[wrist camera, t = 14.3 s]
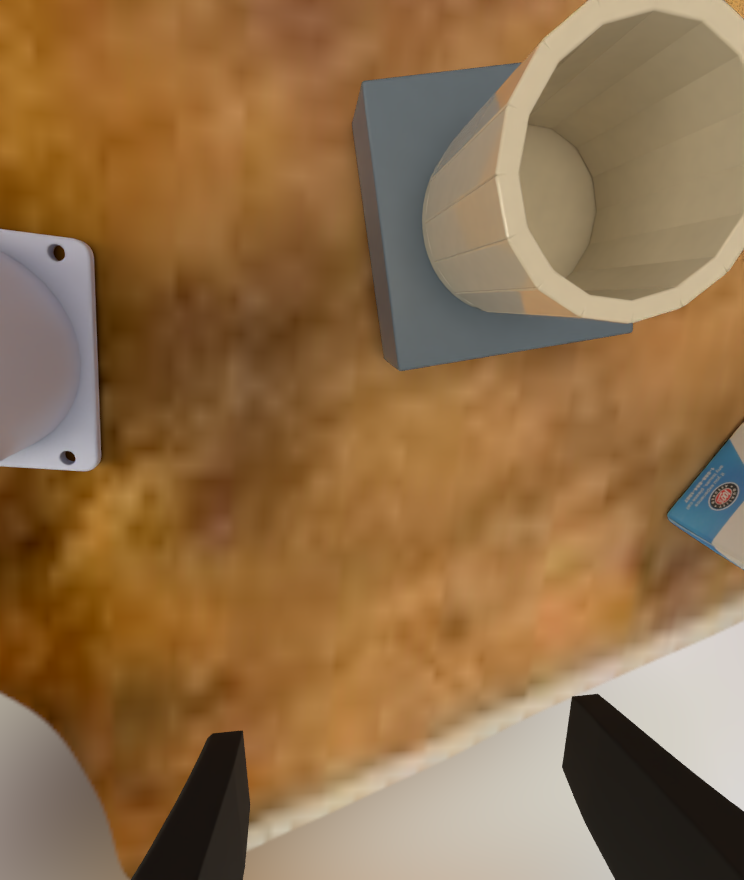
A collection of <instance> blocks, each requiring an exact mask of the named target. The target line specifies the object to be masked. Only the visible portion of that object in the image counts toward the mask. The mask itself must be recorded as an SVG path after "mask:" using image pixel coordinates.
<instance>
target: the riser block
mask: <svg viewBox="0 0 744 880" xmlns="http://www.w3.org/2000/svg"><path fill="white" fill-rule="evenodd" d="M520 64H521V63H513V64H505V65H496V66H488V67H479V68H470V69H462V70H453V71H445V72H436V73H428V74H419V75H410V76H402V77H393V78H385V79H376V80H367V81H363V82H362V84H361V89H360V93H359V97H358V101H357V105H356V109H355V114H354V118H353V122H352V128H353V135H354V143H355V150H356V157H357V165H358V172H359V179H360V187H361V194H362V201H363V208H364V216H365V223H366V230H367V238H368V245H369V252H370V260H371V267H372V274H373V282H374V289H375V296H376V303H377V311H378V318H379V325H380V333H381V340H382V347H383V355H384V359H385V360H386V361H387V362H389V363H390V364H391V365H392V366H394V367H395V368H396V369H398V370H399V371H405V370H411V369H417V368H423V367H429V366H435V365H441V364H447V363H453V362H459V361H465V360H471V359H477V358H483V357H489V356H495V355H501V354H507V353H513V352H519V351H525V350H531V349H537V348H543V347H549V346H555V345H561V344H567V343H573V342H579V341H585V340H591V339H597V338H603V337H609V336H615V335H621V334H627V333H631V332H632V331H633V323H628V324H624V323H610V322H596V321H582V320H567V319H553V318H539V317H525V316H513V315H505V314H494V313H489V312H484V311H481V310H479V309H476V308H473V307H471V306H469V305H468V304H466V303H464V302H463V301H461V300H460V299H458V298H457V297H456V296H454V295H453V294H452V293H451V292H450V291H449V290H448V289H447V288H446V287H445V285H444V284H443V283H442V282H441V280H440V279H439V277H438V276H437V274H436V272H435V271H434V269H433V267H432V264H431V262H430V260H429V258H428V254H427V251H426V248H425V243H424V237H423V229H422V213H423V203H424V198H425V193H426V189H427V186H428V183H429V180H430V178H431V175H432V173H433V171H434V169H435V167H436V165H437V163H438V162H439V160H440V158H441V157H442V155H443V154H444V153H445V151H446V150H447V148H448V146H449V145H450V143H451V142H452V141H453V139H454V138H455V137H456V136H457V135H458V134H459V133H460V131H461V130H462V129H463V128H464V127H465V126H466V125H467V124H468V122H469V121H470V120H471V119H472V118H473V117H474V116H475V115H476V113H477V112H478V111H479V110H480V109H481V108H482V107H483V106H484V105H485V103H486V102H487V101H488V100H489V99H490V98H491V97H492V96H493V94H494V93H495V92H496V91H497V90H498V89H499V88H500V87H501V85H502V84H503V83H504V82H505V81H506V80H507V79H508V78H509V76H510V75H511V74H512V73H513V72H514V71H515V70H516V69H517V67H518V66H519V65H520Z"/></svg>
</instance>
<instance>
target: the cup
mask: <svg viewBox="0 0 744 880" xmlns="http://www.w3.org/2000/svg"><path fill="white" fill-rule="evenodd" d="M422 229H423V237H424V243H425V248H426V251H427V254H428V258H429V260H430V262H431V264H432V267H433V269H434V271H435V272H436V274H437V276H438V277H439V279H440V280H441V282H442V283H443V284H444V285H445V287H446V288H447V289H448V290H449V291H450V292H451V293H452V294H453V295H454V296H456V297H457V298H458V299H460V300H461V301H463V302H464V303H466V304H468V305H469V306H471V307H473V308H476V309H479V310H481V311H484V312H489V313H494V314H505V315H513V316H525V317H539V318H553V319H567V320H582V321H596V322H610V323H624V324H628V323H635V322H639V321H642V320H645V319H648V318H652V317H655V316H658V315H661V314H665V313H668V312H671V311H674V310H678V309H680V308H681V307H684V306H685V305H686V304H688V303H689V302H690V301H692V300H693V299H694V298H695V297H697V296H698V295H699V294H701V293H702V292H703V291H704V290H706V289H707V288H708V287H710V286H711V285H712V284H713V283H715V282H716V281H717V280H719V279H720V278H721V277H722V276H724V275H725V274H726V273H727V272H728V271H729V270H730V269H731V267H732V266H733V264H734V263H735V261H736V260H737V258H738V257H739V255H740V254H741V252H742V251H743V249H744V19H743V18H742V17H741V16H740V15H739V14H738V13H737V12H736V11H735V10H734V9H733V8H732V7H731V6H730V5H729V4H728V3H727V2H726V1H725V0H588V1H586V2H585V3H584V4H583V5H582V6H581V7H579V8H578V9H577V10H576V11H575V12H574V13H572V14H571V15H570V16H569V17H568V18H567V19H565V20H564V21H563V22H562V23H561V24H560V25H558V26H557V27H556V28H555V29H554V30H553V31H551V32H550V33H549V34H548V35H547V36H545V37H544V38H543V39H542V40H541V42H540V43H539V44H538V45H537V46H536V47H535V48H534V49H533V51H532V52H531V53H530V54H529V55H528V56H527V57H526V58H525V60H524V61H523V62H522V63H521V64H520V65H519V66H518V67H517V69H516V70H515V71H514V72H513V73H512V74H511V75H510V76H509V78H508V79H507V80H506V81H505V82H504V83H503V84H502V85H501V87H500V88H499V89H498V90H497V91H496V92H495V93H494V94H493V96H492V97H491V98H490V99H489V100H488V101H487V102H486V103H485V105H484V106H483V107H482V108H481V109H480V110H479V111H478V112H477V113H476V115H475V116H474V117H473V118H472V119H471V120H470V121H469V122H468V124H467V125H466V126H465V127H464V128H463V129H462V130H461V131H460V133H459V134H458V135H457V136H456V137H455V138H454V139H453V141H452V142H451V143H450V145H449V146H448V148H447V150H446V151H445V153H444V154H443V155H442V157H441V158H440V160H439V162H438V163H437V165H436V167H435V169H434V171H433V173H432V175H431V178H430V180H429V183H428V186H427V189H426V193H425V198H424V203H423V213H422Z"/></svg>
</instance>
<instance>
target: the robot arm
mask: <svg viewBox="0 0 744 880" xmlns="http://www.w3.org/2000/svg"><path fill="white" fill-rule="evenodd" d="M58 245H60V246H61V247H62V248H63V249H64V251H65V257H64V259H63V260H61V261H58V260H57V259H56V258H55V256H54V253H53V252H54V248H55V247H56V246H58ZM66 451H70V452H72V453H73V454H74V455H75V458H76V460H75V461H70V460H69V459H67V458H66V455H65V452H66ZM100 461H101V433H100V406H99V379H98V351H97V324H96V297H95V269H94V255H93V251H92V250H91V248H90V247H89V245H87V244H86V243H85V242H83V241H80V240H77V239H73V238H66V237H58V236H51V235H43V234H35V233H28V232H20V231H12V230H5V229H0V466H6V467H22V468H38V469H54V470H70V471H90V470H92V469H94V468H95V467H96V466H98V464H99V463H100ZM562 768H563V771H564V773H565V775H566V778H567V781H568V783H569V786H570V788H571V791H572V793H573V796H574V798H575V800H576V803H577V805H578V807H579V809H580V812H581V814H582V817H583V819H584V821H585V823H586V825H587V827H588V829H589V831H590V833H591V835H592V837H593V839H594V841H595V842H596V844H597V846H598V848H599V850H600V852H601V854H602V856H603V857H604V859H605V861H606V863H607V865H608V867H609V869H610V870H611V873H612V874H613V876H614V878H615V880H744V811H742V810H741V809H740V808H738V807H737V806H736V805H734V804H733V803H732V802H730V801H729V800H728V799H726V798H725V797H724V796H722V795H721V794H720V793H719V792H717V791H716V790H715V789H714V788H712V787H711V786H710V785H708V784H707V783H706V782H705V781H703V780H702V779H701V778H699V777H698V776H697V775H696V774H694V773H693V772H692V771H691V770H689V769H688V768H687V767H686V766H685V765H683V764H682V763H681V762H680V761H678V760H677V759H676V758H675V757H673V756H672V755H671V754H670V753H668V752H667V751H666V750H665V749H664V748H662V747H661V746H660V745H659V744H658V743H656V742H655V741H654V740H653V739H652V738H650V737H649V736H648V735H647V734H646V733H644V732H643V731H642V730H641V729H640V728H638V727H637V726H636V725H635V724H634V723H632V722H631V721H630V720H629V719H628V718H626V717H625V716H624V715H623V714H622V713H620V712H619V711H618V710H617V709H616V708H614V707H613V706H612V705H611V704H610V703H608V702H607V701H606V700H604V699H603V698H602V697H601V696H600V695H598V694H593V695H583V696H573V697H572V701H571V709H570V716H569V722H568V730H567V737H566V744H565V751H564V758H563V765H562ZM249 812H250V799H249V789H248V779H247V769H246V759H245V748H244V738H243V731H233V732H224V733H214V734H212V735H211V736H210V737H209V738H208V739H207V741H206V743H205V745H204V747H203V749H202V752H201V754H200V756H199V758H198V760H197V762H196V764H195V766H194V768H193V770H192V772H191V774H190V776H189V778H188V780H187V782H186V784H185V786H184V788H183V790H182V792H181V794H180V795H179V797H178V799H177V801H176V803H175V805H174V807H173V809H172V810H171V812H170V814H169V816H168V817H167V819H166V821H165V823H164V824H163V826H162V828H161V830H160V831H159V833H158V835H157V837H156V839H155V840H154V842H153V844H152V846H151V847H150V849H149V851H148V853H147V854H146V856H145V858H144V859H143V861H142V863H141V864H140V866H139V867H138V869H137V871H136V872H135V874H134V875H133V877H132V879H131V880H243V874H244V869H245V858H246V848H247V837H248V825H249Z"/></svg>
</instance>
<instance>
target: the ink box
mask: <svg viewBox="0 0 744 880" xmlns="http://www.w3.org/2000/svg"><path fill="white" fill-rule="evenodd" d="M667 516H668V520H669V521H670V522H671V523H673V524H674V525H675V526H677V527H678V528H680V529H681V530H683V531H684V532H686V533H687V534H689V535H690V536H692V537H693V538H695V539H696V540H698V541H699V542H701V543H702V544H704V545H705V546H707V547H708V548H710V549H711V550H713V551H714V552H716V553H717V554H719V555H721V556H722V557H724V558H725V559H727V560H729V561H730V562H732V563H733V564H735V565H737V566H738V567H740V568H741V569H743V570H744V422H743V423H742V424H741V425H740V426H739V428H738V429H737V430H736V431H735V432H734V434H733V435H732V436H731V437H730V438H729V440H728V441H727V442H726V443H725V445H724V446H723V447H722V448H721V449H720V450H719V452H718V453H717V454H716V455H715V457H714V458H713V459H712V460H711V461H710V463H709V464H708V465H707V466H706V467H705V469H704V470H703V471H702V472H701V473H700V475H699V476H698V477H697V478H696V480H695V481H694V482H693V483H692V484H691V486H690V487H689V488H688V489H687V490H686V492H685V493H684V494H683V495H682V496H681V498H680V499H679V500H678V501H677V502H676V503H675V505H674V506H673V507H672V508H671V510H670V511H669V512H668V514H667Z"/></svg>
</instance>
